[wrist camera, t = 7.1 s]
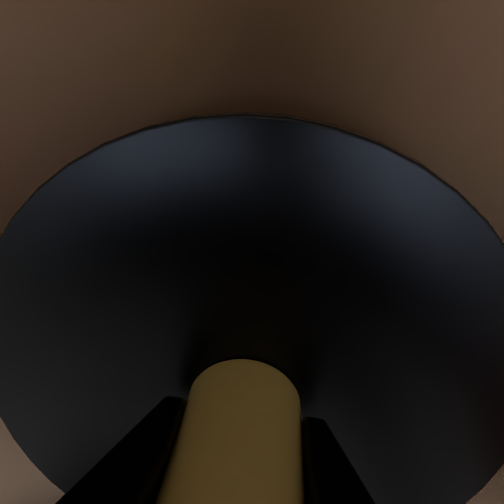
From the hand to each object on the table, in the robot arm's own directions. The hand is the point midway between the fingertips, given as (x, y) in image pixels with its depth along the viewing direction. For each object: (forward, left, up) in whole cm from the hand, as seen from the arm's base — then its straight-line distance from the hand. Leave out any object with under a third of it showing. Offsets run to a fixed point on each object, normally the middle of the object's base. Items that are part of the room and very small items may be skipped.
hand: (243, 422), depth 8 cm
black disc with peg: (0, 0, -1) cm, 1 cm away
